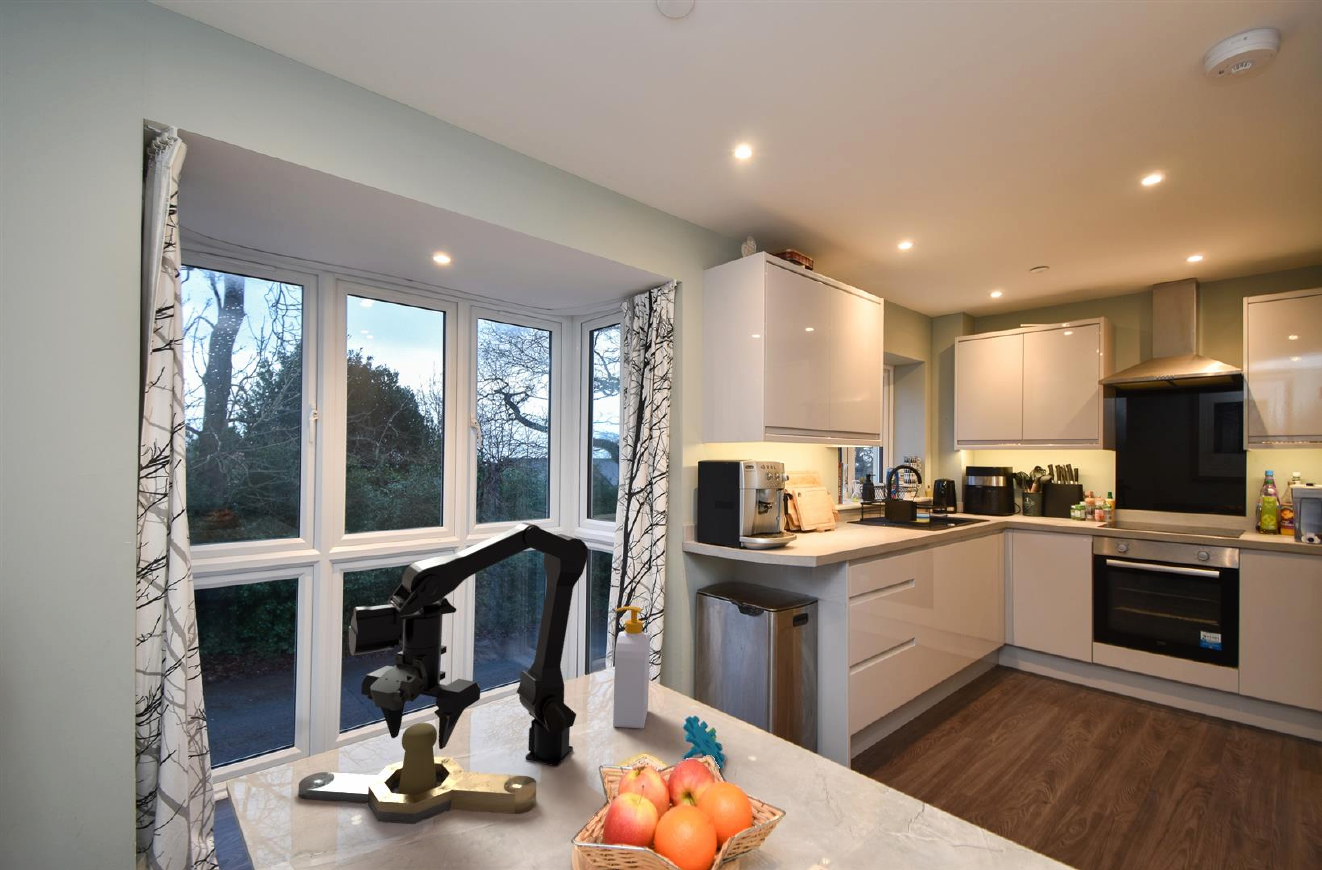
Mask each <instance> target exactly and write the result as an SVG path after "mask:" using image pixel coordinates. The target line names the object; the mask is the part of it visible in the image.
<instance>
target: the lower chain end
mask: <svg viewBox="0 0 1322 870" xmlns="http://www.w3.org/2000/svg"><path fill="white" fill-rule="evenodd" d="M377 776H378V774H377V775H375V774H373V775H372V774H362V773H361V774H358V773H344V772H343V773H342V772H332V771H331V772H329V771H323V772H316V773H312V774H310V775H307V776H306V777H304V778H302V779H301V780H300V781H299V783H298V793H297V794H298V798H300V799H302V800H309V801H324V802H337V803H339V802H340V803H351V804H353V803H354V804H367V806H368V807H369V809H370V810H371V812H372V814H373V816H374V817H375V819H376V821H378V823H379V822H380V823H393V824H404V825H405V824H406V825H407V824H408V825H415V824H418V823H420V822H423V821H426V820H428V819H431V818H433V817H436V816H439V815H442V814H445V813H447V812H448V811H451V810H452V809H451V800H450V801H447V802H444V803H442V804H439V805H436V806H434V807H431V808H428V809H426V810H423V811H420V812H418V813H415V814H410V813H396V812H381V811H378V809H377V808H376V806H375V805H374V803H373V801H372V800H371V798H370V797H369V795H368V786H369V784H370V783H371V782H372V781H373V780H374V779H375V778H376V777H377ZM400 778H401V777H400ZM400 778H397V779H395V780H394V782H393V783H392V784H391V785H390V786H389V787H388V789H389V790H390V792H391V793H392V794H393V792H394V791H395V790H396V789H397V788H398V789H399V784H400ZM445 780H446V778H445V776H444V775H443V774H442V773H438V772H436V781H437V782H439V783H441V785H442V784H443V782H444V781H445Z"/></svg>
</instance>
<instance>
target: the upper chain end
mask: <svg viewBox="0 0 1322 870" xmlns="http://www.w3.org/2000/svg"><path fill="white" fill-rule="evenodd" d="M403 761H404V760H401V761H399V762H395V763H392V764H389V765H386V766H385V768H384V769H382V770H381V772H380V773H378V774H377V777H376V778H375V779H374V780H373V781H372V782H371V783H370V784H369V786H368V795H369V797H370V798H371V800H372V801H373V803H374V805H375V806H376V808H377V809H378V811H381V812H396V813H410V814H415V813H418V812H420V811H423V810H426V809H428V808H431V807H434V806H436V805H439V804H442V803H444V802H447V801H450V800H451V809H450V810H453V811H454V810H455V811H469V812H481V813H496V814H497V813H499V814H515V815H521V814H524V813H528V812H529V811H532V810H533V809H534V808H535V806H536V804H537V784H538V783H537V780H536V779H535V778H534V777H532V776H528V775H519V774H518V775H517V774H503V773H488V772H487V773H486V772H485V773H484V772H472V771H465V770H464V769H463V768H462V767H461V766H460V765H459V764H458V763H457V762H456V761H455V760H454V758H452V757H448V756H435V755H434V762H435V771H436V772H438V773H442V774H443V775H444V776H445V778H446V780H445V781H444V782H443V784H442V783H441V785H440V786H437V788H434V789H431V790H429V791H426V792H423V793H420V794H417V795H406V794H398V793H393V792H392V793H391V792H390V790H389V789H388V787H389V786H390V785H391V784H392V783H393V782H394V780H395V779H397V778H400V777H401V773H402V767H403Z"/></svg>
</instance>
